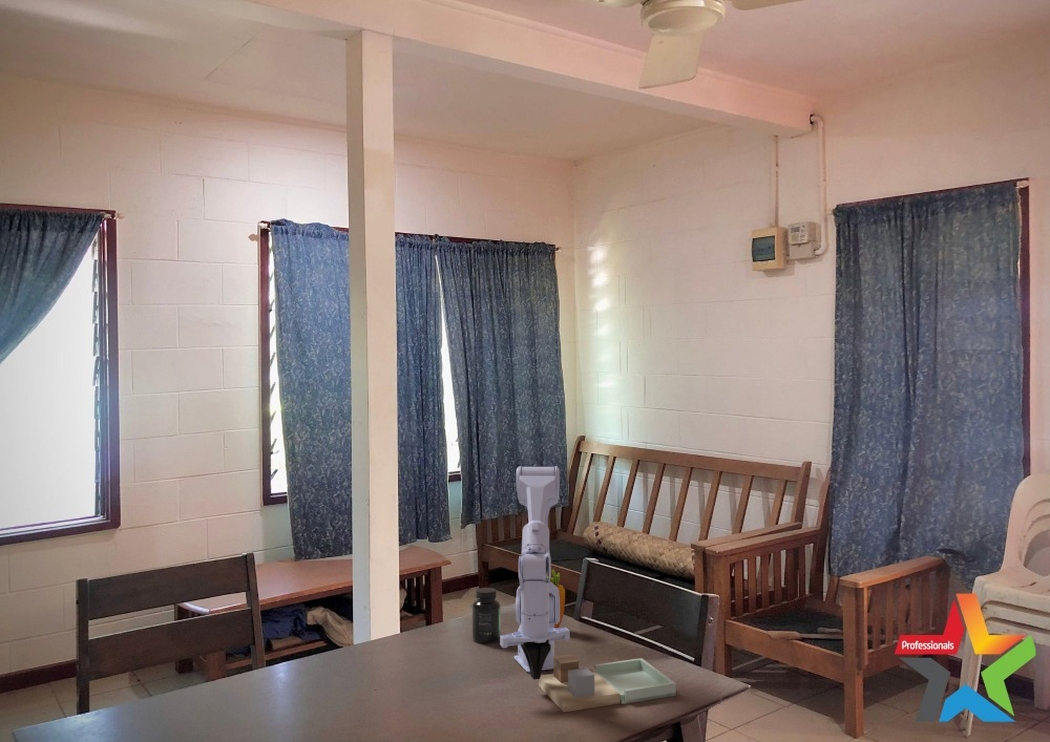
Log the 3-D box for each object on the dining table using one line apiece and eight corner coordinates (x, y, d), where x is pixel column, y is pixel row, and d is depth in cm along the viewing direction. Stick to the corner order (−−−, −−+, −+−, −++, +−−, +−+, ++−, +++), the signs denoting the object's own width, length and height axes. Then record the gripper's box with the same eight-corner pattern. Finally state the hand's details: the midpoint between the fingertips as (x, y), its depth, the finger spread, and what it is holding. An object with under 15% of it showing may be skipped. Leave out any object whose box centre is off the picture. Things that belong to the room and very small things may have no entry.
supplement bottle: (506, 638, 206) (506, 589, 205) (486, 646, 201) (486, 596, 200) (486, 632, 210) (485, 584, 210) (466, 639, 205) (466, 590, 205)
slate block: (568, 690, 169) (568, 670, 169) (586, 687, 171) (586, 667, 170) (575, 697, 165) (575, 677, 165) (594, 695, 167) (594, 674, 167)
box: (591, 676, 181) (591, 665, 181) (641, 669, 185) (641, 658, 185) (622, 704, 167) (622, 691, 167) (675, 695, 171) (675, 683, 171)
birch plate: (538, 685, 177) (538, 675, 177) (591, 677, 181) (591, 668, 181) (563, 712, 164) (563, 702, 164) (619, 703, 168) (619, 693, 168)
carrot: (563, 634, 208) (563, 574, 208) (544, 633, 209) (543, 573, 209) (566, 628, 213) (566, 568, 213) (547, 626, 214) (547, 568, 214)
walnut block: (553, 675, 177) (553, 656, 177) (571, 673, 178) (571, 654, 178) (560, 682, 173) (560, 663, 173) (578, 680, 174) (578, 660, 174)
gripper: (507, 621, 167) (507, 689, 167) (575, 613, 172) (575, 679, 172) (496, 611, 173) (497, 676, 174) (562, 603, 178) (562, 667, 179)
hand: (535, 677), depth 173 cm, fingers closed
